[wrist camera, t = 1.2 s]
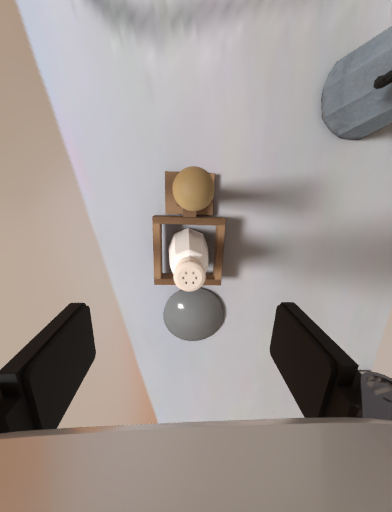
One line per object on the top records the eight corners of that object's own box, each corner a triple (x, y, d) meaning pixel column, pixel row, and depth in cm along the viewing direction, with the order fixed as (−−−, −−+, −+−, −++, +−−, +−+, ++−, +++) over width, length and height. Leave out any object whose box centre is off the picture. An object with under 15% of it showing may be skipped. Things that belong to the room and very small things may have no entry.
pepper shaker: (208, 227, 27) (223, 247, 16) (207, 265, 28) (219, 305, 18) (168, 227, 27) (156, 246, 16) (169, 265, 28) (158, 306, 18)
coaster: (220, 338, 32) (221, 340, 31) (164, 339, 31) (163, 341, 31) (224, 287, 29) (225, 288, 29) (163, 286, 29) (163, 288, 28)
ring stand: (217, 276, 29) (252, 365, 14) (157, 275, 28) (124, 367, 13) (224, 174, 25) (284, 137, 10) (155, 171, 25) (103, 128, 9)
